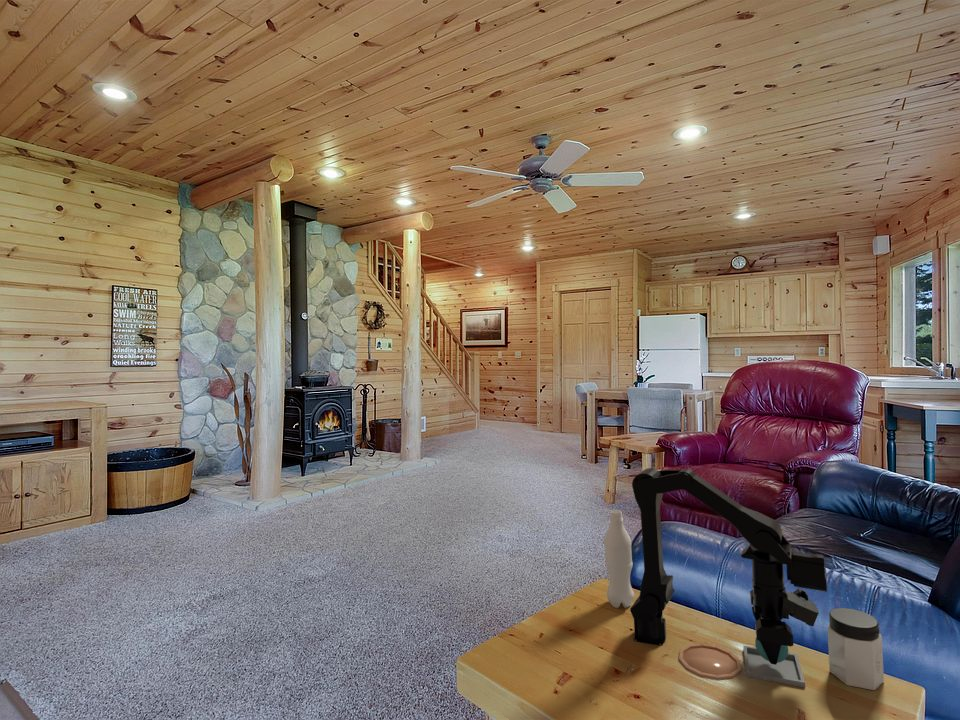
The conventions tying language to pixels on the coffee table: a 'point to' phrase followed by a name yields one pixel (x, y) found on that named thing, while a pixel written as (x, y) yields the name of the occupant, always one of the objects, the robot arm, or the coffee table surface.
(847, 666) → the jar
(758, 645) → the ball
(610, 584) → the water bottle
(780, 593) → the robot arm
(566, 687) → the coffee table surface
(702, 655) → the dish
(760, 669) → the tray
